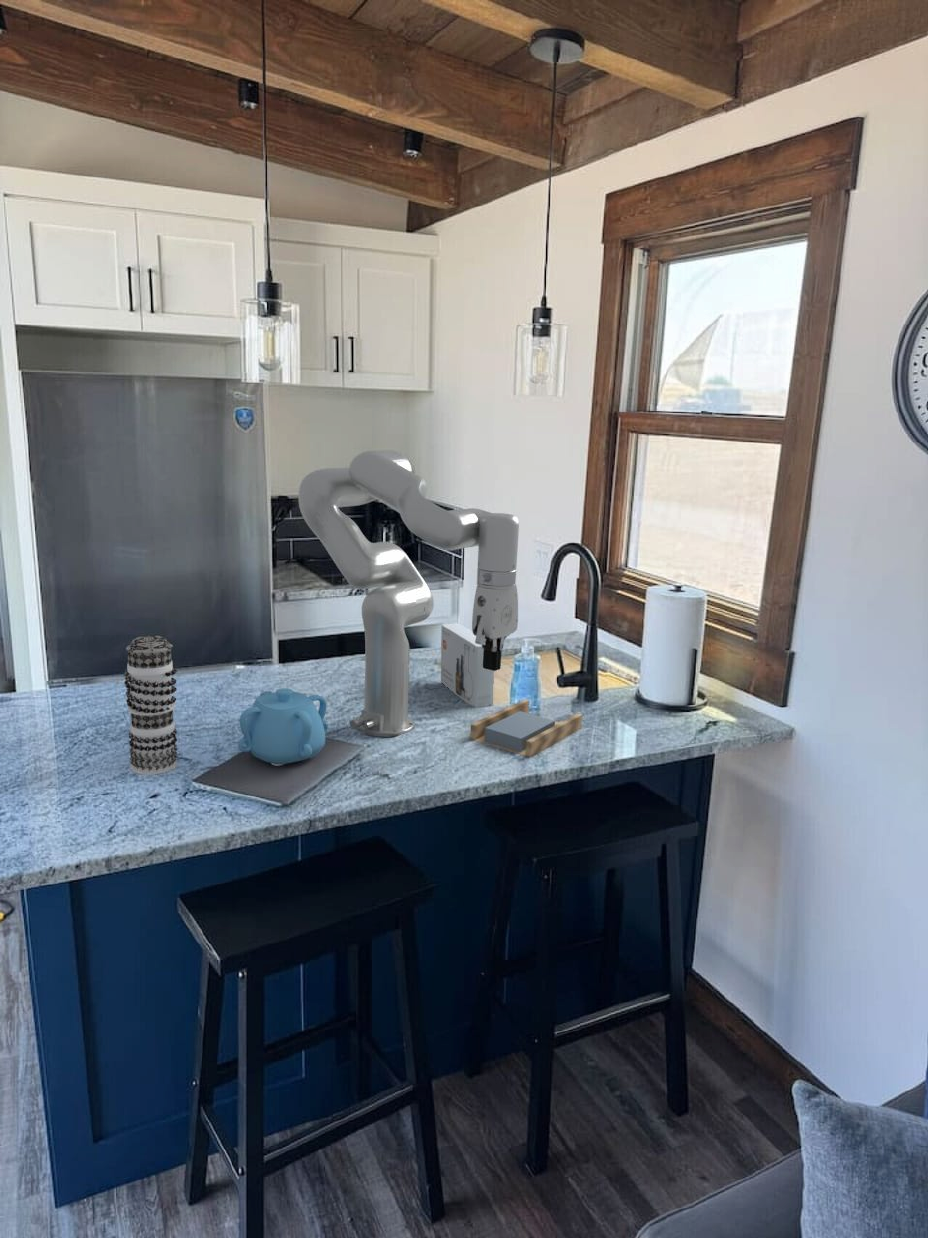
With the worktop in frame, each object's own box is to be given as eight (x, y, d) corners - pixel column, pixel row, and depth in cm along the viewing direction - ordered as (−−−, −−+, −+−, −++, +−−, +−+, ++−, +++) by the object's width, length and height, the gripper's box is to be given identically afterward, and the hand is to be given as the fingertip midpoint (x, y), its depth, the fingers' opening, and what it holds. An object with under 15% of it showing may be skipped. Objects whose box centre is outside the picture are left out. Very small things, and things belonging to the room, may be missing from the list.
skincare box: (438, 683, 218) (440, 623, 214) (457, 681, 220) (460, 622, 216) (473, 710, 199) (476, 645, 195) (493, 708, 201) (497, 643, 198)
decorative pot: (227, 765, 162) (225, 698, 159) (263, 735, 178) (262, 673, 174) (307, 776, 159) (307, 708, 156) (336, 745, 175) (337, 682, 171)
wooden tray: (530, 759, 172) (531, 742, 171) (470, 741, 180) (470, 724, 179) (581, 730, 189) (582, 714, 188) (524, 714, 198) (525, 699, 197)
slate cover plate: (520, 752, 174) (521, 738, 173) (484, 741, 179) (485, 727, 178) (554, 733, 185) (555, 720, 184) (519, 723, 190) (520, 711, 190)
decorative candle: (162, 752, 167) (157, 629, 161) (189, 766, 161) (185, 639, 155) (118, 765, 160) (112, 638, 154) (145, 780, 154) (139, 648, 148)
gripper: (491, 586, 155) (486, 681, 159) (533, 575, 167) (527, 664, 171) (458, 580, 159) (454, 673, 164) (501, 570, 171) (496, 657, 175)
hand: (491, 668), depth 167 cm, fingers closed
